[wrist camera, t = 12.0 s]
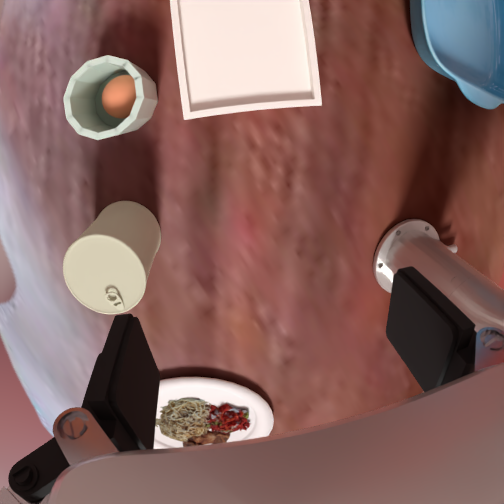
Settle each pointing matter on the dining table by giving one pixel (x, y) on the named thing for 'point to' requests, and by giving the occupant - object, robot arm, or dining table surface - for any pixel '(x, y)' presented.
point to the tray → (244, 55)
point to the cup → (90, 98)
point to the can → (113, 258)
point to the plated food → (208, 413)
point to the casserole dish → (463, 44)
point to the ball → (119, 96)
